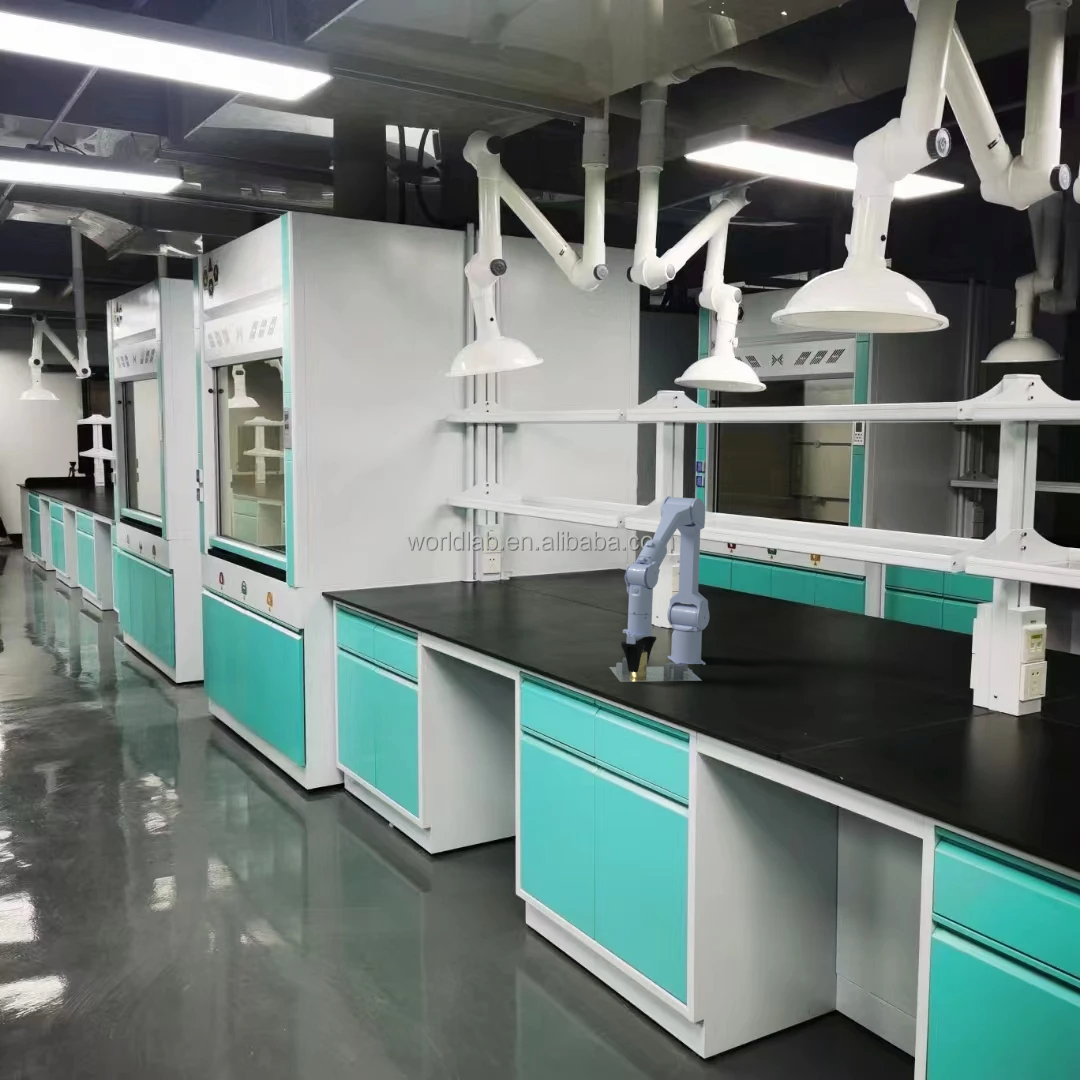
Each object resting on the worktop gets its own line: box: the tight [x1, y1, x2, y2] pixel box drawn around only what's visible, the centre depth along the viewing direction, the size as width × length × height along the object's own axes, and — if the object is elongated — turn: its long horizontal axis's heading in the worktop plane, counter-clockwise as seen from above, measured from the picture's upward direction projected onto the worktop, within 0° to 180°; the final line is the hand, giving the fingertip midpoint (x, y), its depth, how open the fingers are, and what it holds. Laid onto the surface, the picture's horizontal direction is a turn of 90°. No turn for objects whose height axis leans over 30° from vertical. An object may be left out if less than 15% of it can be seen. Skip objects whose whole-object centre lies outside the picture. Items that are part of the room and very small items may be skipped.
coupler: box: [630, 649, 648, 680], centre depth 247 cm, size 4×4×7 cm
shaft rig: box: [608, 657, 703, 683], centre depth 252 cm, size 15×20×4 cm
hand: (638, 668), depth 247 cm, fingers open, 7 cm apart
